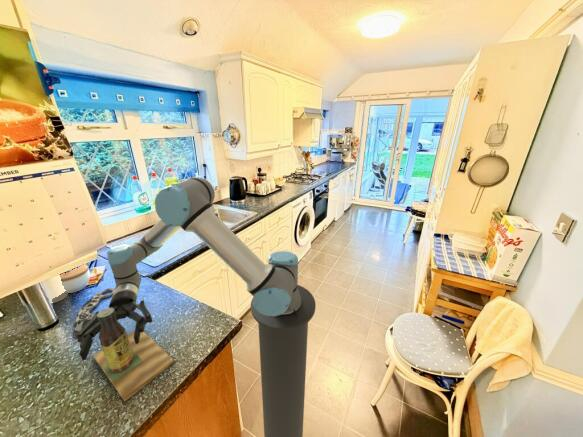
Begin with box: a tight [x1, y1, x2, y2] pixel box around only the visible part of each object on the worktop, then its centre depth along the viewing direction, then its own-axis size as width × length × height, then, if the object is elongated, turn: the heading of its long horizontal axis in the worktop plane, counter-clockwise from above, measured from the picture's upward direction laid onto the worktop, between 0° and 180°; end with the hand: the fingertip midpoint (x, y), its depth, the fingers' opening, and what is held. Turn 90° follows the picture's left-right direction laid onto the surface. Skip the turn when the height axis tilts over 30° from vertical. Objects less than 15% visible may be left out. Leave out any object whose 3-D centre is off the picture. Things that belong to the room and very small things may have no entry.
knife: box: [73, 287, 115, 335], centre depth 94 cm, size 28×2×10 cm
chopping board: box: [93, 330, 174, 402], centre depth 75 cm, size 22×14×2 cm, turn 55°
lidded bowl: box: [60, 263, 91, 294], centre depth 106 cm, size 13×13×11 cm
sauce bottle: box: [97, 307, 133, 373], centre depth 69 cm, size 6×6×20 cm
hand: (110, 348), depth 65 cm, fingers open, 12 cm apart
